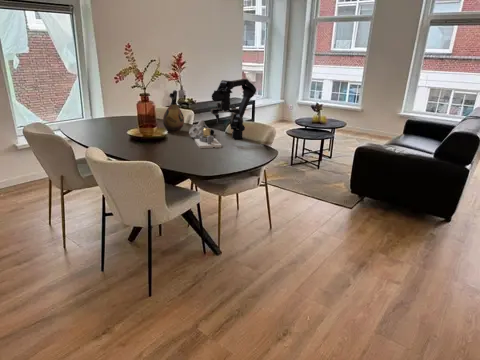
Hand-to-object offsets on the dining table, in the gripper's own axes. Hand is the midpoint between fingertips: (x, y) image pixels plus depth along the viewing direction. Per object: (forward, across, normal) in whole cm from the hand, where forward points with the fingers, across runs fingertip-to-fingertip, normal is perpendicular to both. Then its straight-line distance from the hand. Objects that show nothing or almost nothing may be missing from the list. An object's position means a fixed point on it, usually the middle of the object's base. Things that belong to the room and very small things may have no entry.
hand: (225, 124), depth 229 cm
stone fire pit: (+12, +13, +5) cm, 18 cm away
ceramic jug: (+12, +30, -36) cm, 48 cm away
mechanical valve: (+12, +12, -16) cm, 24 cm away
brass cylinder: (+10, +13, +2) cm, 17 cm away
